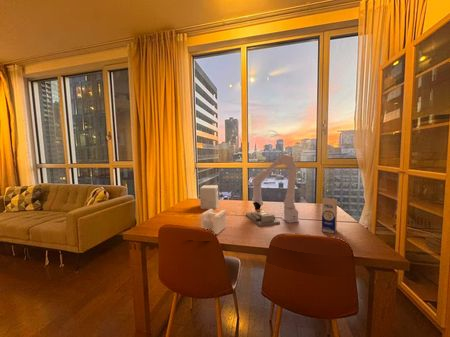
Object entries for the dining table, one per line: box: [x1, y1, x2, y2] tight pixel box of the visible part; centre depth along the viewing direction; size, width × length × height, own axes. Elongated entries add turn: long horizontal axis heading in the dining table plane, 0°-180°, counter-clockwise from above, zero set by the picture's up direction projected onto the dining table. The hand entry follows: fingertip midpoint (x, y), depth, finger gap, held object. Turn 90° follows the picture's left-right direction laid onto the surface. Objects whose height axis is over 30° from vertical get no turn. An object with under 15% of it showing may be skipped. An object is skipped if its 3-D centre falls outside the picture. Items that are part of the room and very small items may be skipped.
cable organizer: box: [200, 209, 228, 235], centre depth 127 cm, size 15×11×12 cm
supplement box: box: [199, 184, 220, 210], centre depth 179 cm, size 13×13×18 cm
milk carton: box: [321, 196, 338, 235], centre depth 121 cm, size 7×7×20 cm
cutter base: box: [245, 211, 281, 227], centre depth 145 cm, size 24×14×6 cm, turn 15°
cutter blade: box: [254, 208, 268, 217], centre depth 146 cm, size 9×5×4 cm, turn 15°
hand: (257, 212), depth 152 cm, fingers closed
